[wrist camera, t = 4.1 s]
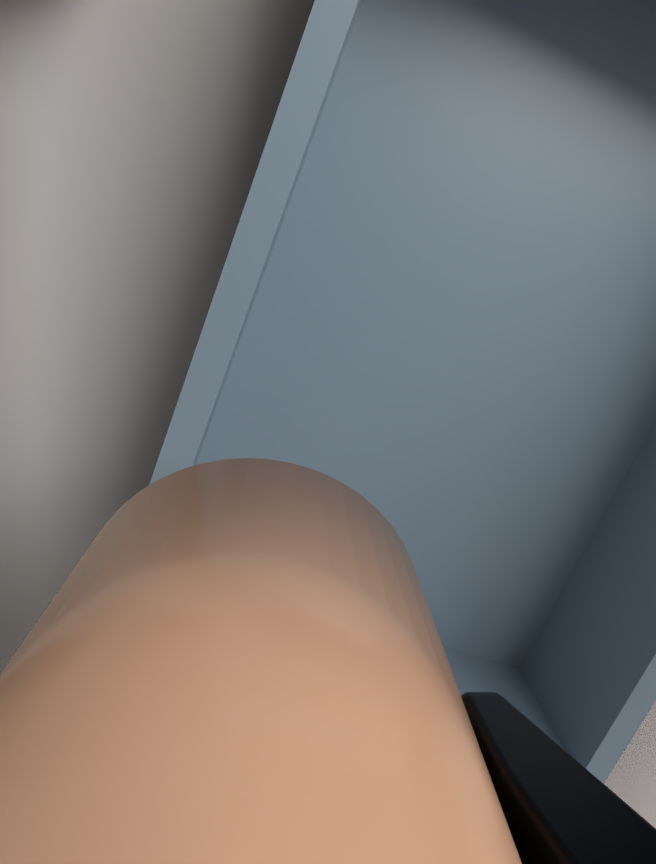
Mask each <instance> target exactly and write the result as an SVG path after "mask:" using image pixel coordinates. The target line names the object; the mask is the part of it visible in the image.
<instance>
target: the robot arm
mask: <svg viewBox="0 0 656 864" xmlns="http://www.w3.org/2000/svg"><path fill="white" fill-rule="evenodd" d="M461 698H462V700H463V703H464V706H465V709H466V711H467V714H468V717H469V720H470V722H471V725H472V728H473V731H474V733H475V736H476V739H477V742H478V744H479V747H480V750H481V753H482V755H483V758H484V761H485V764H486V766H487V769H488V772H489V775H490V777H491V780H492V783H493V786H494V788H495V791H496V794H497V797H498V799H499V802H500V805H501V808H502V810H503V813H504V816H505V819H506V821H507V824H508V827H509V830H510V832H511V835H512V838H513V841H514V843H515V846H516V849H517V852H518V854H519V857H520V860H521V863H522V864H656V829H655V828H654V827H653V826H652V825H651V824H649V823H648V822H647V821H646V820H645V819H644V818H643V817H641V816H640V815H639V814H638V813H637V812H636V811H634V810H633V809H632V808H631V807H630V806H629V805H627V804H626V803H625V802H624V801H623V800H622V799H621V798H619V797H618V796H617V795H616V794H615V793H614V792H612V791H611V790H610V789H609V788H608V787H607V786H605V785H604V784H603V783H602V782H601V781H600V780H599V779H597V778H596V777H595V776H594V775H593V774H592V773H590V772H589V771H588V770H587V769H586V768H585V767H583V766H582V765H581V764H580V763H579V762H578V761H576V760H575V759H574V758H573V757H572V756H571V755H570V754H568V753H567V752H566V751H565V750H564V749H563V748H561V747H560V746H559V745H558V744H557V743H556V742H554V741H553V740H552V739H551V738H550V737H549V736H548V735H546V734H545V733H544V732H543V731H542V730H541V729H539V728H538V727H537V726H536V725H535V724H534V723H532V722H531V721H530V720H529V719H528V718H527V717H526V716H524V715H523V714H522V713H521V712H520V711H519V710H517V709H516V708H515V707H514V706H513V705H512V704H510V703H509V702H508V701H507V700H506V699H505V698H504V697H502V696H501V695H500V694H498V693H496V692H465V693H464V694H462V695H461Z"/></svg>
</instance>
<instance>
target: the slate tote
mask: <svg viewBox="0 0 656 864" xmlns="http://www.w3.org/2000/svg"><path fill="white" fill-rule="evenodd" d="M239 458H257V459H271V460H278V461H283V462H288V463H293V464H298V465H301V466H304V467H307V468H310V469H313V470H316V471H319V472H321V473H323V474H326V475H328V476H330V477H332V478H334V479H336V480H338V481H340V482H342V483H344V484H345V485H347V486H348V487H350V488H351V489H353V490H354V491H356V492H357V493H359V494H360V495H362V496H363V497H364V498H365V499H366V500H367V501H369V502H370V503H371V504H372V505H373V506H374V507H376V508H377V509H378V510H379V511H380V513H381V514H382V515H383V516H384V517H385V518H386V519H387V520H388V522H389V523H390V524H391V525H392V527H393V528H394V530H395V531H396V533H397V534H398V536H399V537H400V539H401V540H402V542H403V543H404V546H405V548H406V550H407V552H408V554H409V556H410V558H411V560H412V563H413V566H414V568H415V571H416V574H417V577H418V579H419V582H420V585H421V588H422V590H423V593H424V596H425V599H426V601H427V604H428V607H429V610H430V612H431V615H432V618H433V621H434V623H435V626H436V629H437V632H438V634H439V637H440V640H441V643H442V645H443V648H444V651H445V654H446V656H447V659H448V662H449V665H450V667H451V670H452V673H453V676H454V678H455V681H456V684H457V687H458V689H459V692H460V695H462V694H464V693H465V692H496V693H498V694H500V695H501V696H502V697H504V698H505V699H506V700H507V701H508V702H509V703H510V704H512V705H513V706H514V707H515V708H516V709H517V710H519V711H520V712H521V713H522V714H523V715H524V716H526V717H527V718H528V719H529V720H530V721H531V722H532V723H534V724H535V725H536V726H537V727H538V728H539V729H541V730H542V731H543V732H544V733H545V734H546V735H548V736H549V737H550V738H551V739H552V740H553V741H554V742H556V743H557V744H558V745H559V746H560V747H561V748H563V749H564V750H565V751H566V752H567V753H568V754H570V755H571V756H572V757H573V758H574V759H575V760H576V761H578V762H579V763H580V764H581V765H582V766H583V767H585V768H586V769H587V770H588V771H589V772H590V773H592V774H593V775H594V776H595V777H596V778H597V779H599V780H600V781H601V782H602V783H603V784H604V782H605V780H606V779H607V777H608V776H609V774H610V772H611V771H612V769H613V768H614V766H615V764H616V763H617V761H618V760H619V758H620V756H621V755H622V753H623V751H624V750H625V748H626V747H627V745H628V743H629V742H630V740H631V739H632V737H633V735H634V734H635V732H636V731H637V729H638V727H639V726H640V724H641V723H642V721H643V719H644V718H645V716H646V714H647V713H648V711H649V710H650V708H651V706H652V705H653V703H654V702H655V700H656V0H315V1H314V4H313V7H312V10H311V13H310V16H309V19H308V21H307V24H306V27H305V30H304V33H303V36H302V39H301V42H300V45H299V48H298V51H297V54H296V57H295V59H294V62H293V65H292V68H291V71H290V74H289V77H288V80H287V83H286V86H285V89H284V92H283V95H282V98H281V100H280V103H279V106H278V109H277V112H276V115H275V118H274V121H273V124H272V127H271V130H270V133H269V136H268V138H267V141H266V144H265V147H264V150H263V153H262V156H261V159H260V162H259V165H258V168H257V171H256V174H255V176H254V179H253V182H252V185H251V188H250V191H249V194H248V197H247V200H246V203H245V206H244V209H243V212H242V215H241V217H240V220H239V223H238V226H237V229H236V232H235V235H234V238H233V241H232V244H231V247H230V250H229V253H228V255H227V258H226V261H225V264H224V267H223V270H222V273H221V276H220V279H219V282H218V285H217V288H216V291H215V293H214V296H213V299H212V302H211V305H210V308H209V311H208V314H207V317H206V320H205V323H204V326H203V329H202V332H201V334H200V337H199V340H198V343H197V346H196V349H195V352H194V355H193V358H192V361H191V364H190V367H189V370H188V372H187V375H186V378H185V381H184V384H183V387H182V390H181V393H180V396H179V399H178V402H177V405H176V408H175V410H174V413H173V416H172V419H171V422H170V425H169V428H168V431H167V434H166V437H165V440H164V443H163V446H162V448H161V451H160V454H159V457H158V460H157V463H156V466H155V469H154V472H153V475H152V478H151V481H150V484H152V483H153V482H155V481H157V480H159V479H161V478H163V477H165V476H168V475H170V474H172V473H174V472H176V471H179V470H182V469H185V468H188V467H191V466H195V465H198V464H201V463H207V462H212V461H218V460H224V459H239ZM150 484H149V485H150Z"/></svg>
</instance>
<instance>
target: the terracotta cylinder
mask: <svg viewBox="0 0 656 864" xmlns="http://www.w3.org/2000/svg"><path fill="white" fill-rule="evenodd" d="M0 864H522V863H521V860H520V857H519V854H518V852H517V849H516V846H515V843H514V841H513V838H512V835H511V832H510V830H509V827H508V824H507V821H506V819H505V816H504V813H503V810H502V808H501V805H500V802H499V799H498V797H497V794H496V791H495V788H494V786H493V783H492V780H491V777H490V775H489V772H488V769H487V766H486V764H485V761H484V758H483V755H482V753H481V750H480V747H479V744H478V742H477V739H476V736H475V733H474V731H473V728H472V725H471V722H470V720H469V717H468V714H467V711H466V709H465V706H464V703H463V700H462V698H461V695H460V692H459V689H458V687H457V684H456V681H455V678H454V676H453V673H452V670H451V667H450V665H449V662H448V659H447V656H446V654H445V651H444V648H443V645H442V643H441V640H440V637H439V634H438V632H437V629H436V626H435V623H434V621H433V618H432V615H431V612H430V610H429V607H428V604H427V601H426V599H425V596H424V593H423V590H422V588H421V585H420V582H419V579H418V577H417V574H416V571H415V568H414V566H413V563H412V560H411V558H410V556H409V554H408V552H407V550H406V548H405V546H404V543H403V542H402V540H401V539H400V537H399V536H398V534H397V533H396V531H395V530H394V528H393V527H392V525H391V524H390V523H389V522H388V520H387V519H386V518H385V517H384V516H383V515H382V514H381V513H380V511H379V510H378V509H377V508H376V507H374V506H373V505H372V504H371V503H370V502H369V501H367V500H366V499H365V498H364V497H363V496H362V495H360V494H359V493H357V492H356V491H354V490H353V489H351V488H350V487H348V486H347V485H345V484H344V483H342V482H340V481H338V480H336V479H334V478H332V477H330V476H328V475H326V474H323V473H321V472H319V471H316V470H313V469H310V468H307V467H304V466H301V465H298V464H293V463H288V462H283V461H278V460H271V459H257V458H239V459H224V460H218V461H212V462H207V463H201V464H198V465H195V466H191V467H188V468H185V469H182V470H179V471H176V472H174V473H172V474H170V475H168V476H165V477H163V478H161V479H159V480H157V481H155V482H153V483H152V484H150V485H149V486H147V487H146V488H144V489H142V490H141V491H139V492H138V493H136V494H135V495H134V496H133V497H132V498H130V499H129V500H128V501H127V502H126V503H124V504H123V505H122V506H121V507H120V508H119V509H118V510H117V511H116V512H115V513H114V514H113V516H112V517H111V518H110V519H109V520H108V521H107V522H106V523H105V525H104V526H103V528H102V529H101V530H100V532H99V533H98V535H97V536H96V538H95V539H94V540H93V542H92V543H91V545H90V546H89V548H88V549H87V550H86V552H85V553H84V555H83V556H82V558H81V559H80V561H79V562H78V563H77V565H76V566H75V568H74V569H73V571H72V572H71V573H70V575H69V576H68V578H67V579H66V581H65V582H64V583H63V585H62V586H61V588H60V589H59V591H58V592H57V593H56V595H55V596H54V598H53V599H52V601H51V602H50V603H49V605H48V606H47V608H46V609H45V611H44V612H43V614H42V615H41V616H40V618H39V619H38V621H37V622H36V624H35V625H34V626H33V628H32V629H31V631H30V632H29V634H28V635H27V636H26V638H25V639H24V641H23V642H22V644H21V645H20V646H19V648H18V649H17V651H16V652H15V654H14V655H13V656H12V658H11V659H10V661H9V662H8V664H7V665H6V667H5V668H4V669H3V671H2V672H1V674H0Z"/></svg>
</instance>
